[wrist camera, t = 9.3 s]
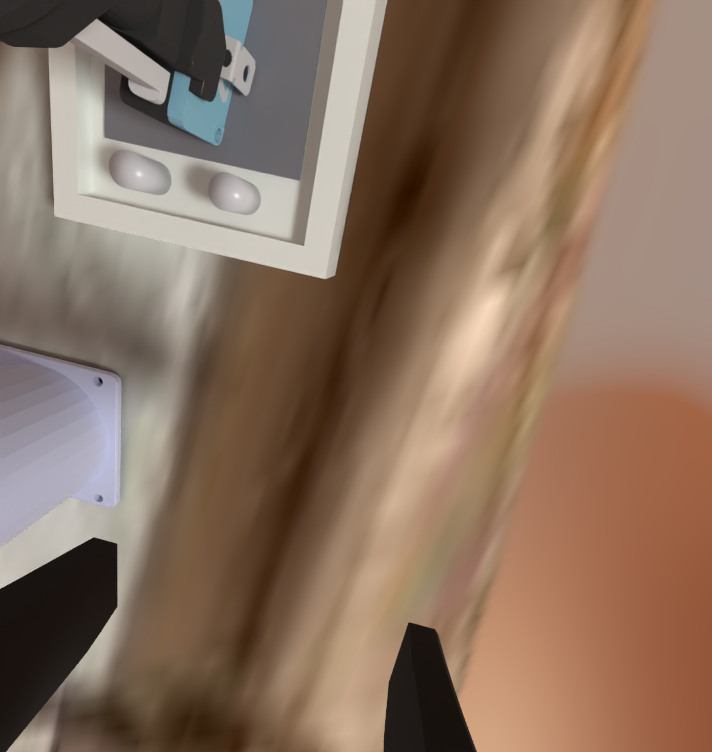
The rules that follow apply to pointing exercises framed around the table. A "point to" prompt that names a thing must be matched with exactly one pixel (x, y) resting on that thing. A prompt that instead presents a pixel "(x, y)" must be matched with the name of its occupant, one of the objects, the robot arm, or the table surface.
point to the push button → (151, 51)
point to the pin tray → (229, 143)
